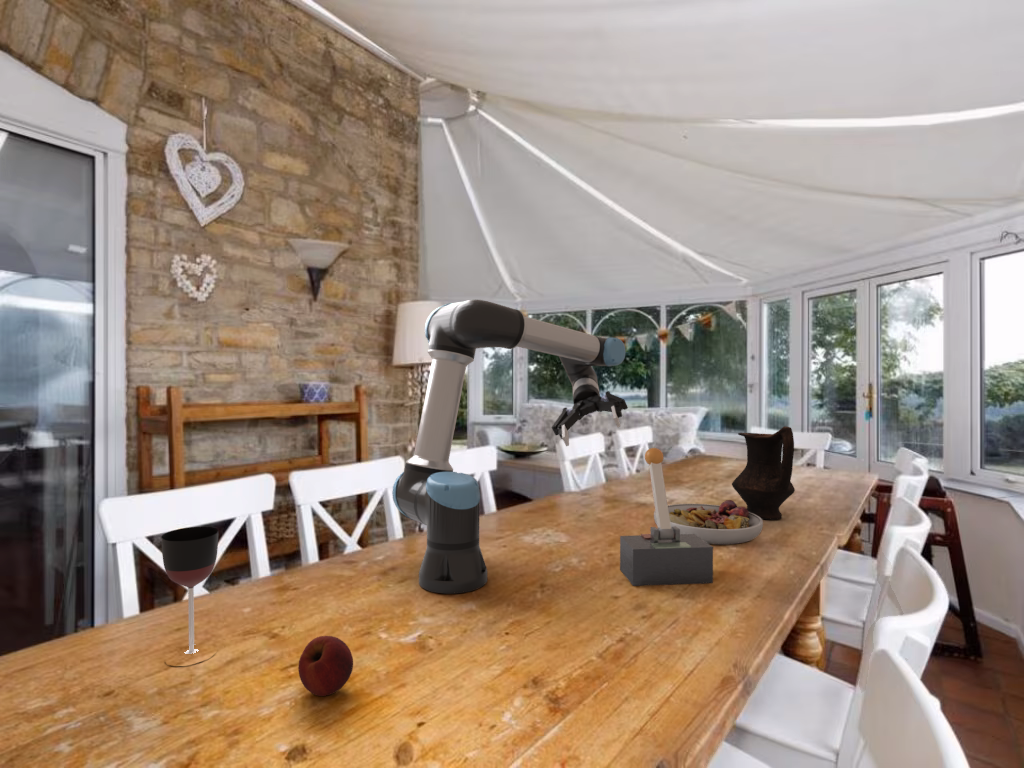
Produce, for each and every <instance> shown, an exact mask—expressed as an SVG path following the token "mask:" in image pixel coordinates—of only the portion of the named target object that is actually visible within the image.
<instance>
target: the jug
mask: <svg viewBox="0 0 1024 768" xmlns="http://www.w3.org/2000/svg"><path fill="white" fill-rule="evenodd" d="M738 435H739V436H741V437H743V438H744V440H745V445H746V459H747V460H746V465H745V467H744V469H743V470H742V471H741V472H740V473H739V474H738V476H737V477H736V478H734V480H733V481H732V483H731V486H732V488H733V489H734V490H735V492H736V493H737V494H738V495H739V497H740V498H741V499H742V501H744V503H745V504H746V509H747V510H748V512H751V513H753V514H755V515H757V516H759V517H760V518H761V519H762V520H773V521H774V520H781V519H782V518H783V517H782V515H783V514H782V512H780V507H781V505H783V503H784V502H786V501H787V500H788V498H789V497H791V496H792V495H793V494H794V493H795V490H796V489H795V487H794V485H793V482H792V481H791V480H792V475H793V464H794V454H795V439H794V432H793V429H792V427H791V426H783V427H781V428H780V429H779V430H778V431H776V432H775V433H757V432H756V433H755V432H738Z"/></svg>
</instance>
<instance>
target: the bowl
mask: <svg viewBox="0 0 1024 768" xmlns="http://www.w3.org/2000/svg"><path fill="white" fill-rule="evenodd" d="M668 511H669V517H670V524H671V528H672V527H674V526H676V527H677V528H679V529H680V534H695V535H696V536H698V537H699V538H701V539H702V540H704V541H705V542H706V543H708V544H709V545H736V544H743V543H747V542H750V541H752V540H754V539H755V538H757V537H758V536H759V535H760V534H761V532H762V530H763V526H764V521H763V520H764V519H761V518H760V517H759V516H757V515H755V514H753V513H751V512H748V510H747V507H745V506H737V503H736V502H735V501H734V500H731V499H729V500H724V502H722V503H721V504H720V505H719V504H718V505H717V504H708V503H677V504H669V505H668ZM653 518H654V519H653V520H654V522H655V524H656V525H657V519H656V512H655V510H654V511H653Z"/></svg>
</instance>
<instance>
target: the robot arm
mask: <svg viewBox="0 0 1024 768" xmlns="http://www.w3.org/2000/svg"><path fill="white" fill-rule="evenodd" d="M424 333H425V338H426V340H427V342H428V348H427V353H428V355H429V357H430V358H431V365H430V372H429V376H428V382H427V385H426V391H425V395H424V396H425V397H424V402H423V406H422V412H421V416H420V421H419V427H418V432H417V437H416V441H415V448H414V452H413V456H412V457H410V458H408V459H406V460H405V465H404V471H402V472H401V474H400V475H398V476H397V478H396V479H395V481H394V483H393V486H392V499H393V503H394V505H395V507H396V508H397V510H398V511H399V512H400V513H401V514H403V515H404V516H405V517H406V518H408V519H410V520H411V521H412V520H413V521H415V522H419V523H420V524H423V525H424V526H426V549H425V552H424V556H423V559H422V562H421V565H420V568H419V572H418V585H419V586H420V588H422V589H424V590H425V591H428V592H431V593H438V594H445V595H446V594H451V595H452V594H463V593H469V592H472V591H476V590H478V589H480V588H482V587H484V586H485V585H487V583H488V568H487V566H486V565H487V564H486V562H485V558H484V556H483V553H482V550H481V547H480V500H481V493H480V485H479V482H478V480H477V479H476V478H475V477H474V476H472V475H470V474H467V473H464V472H457V471H454V467H452V465H451V464H450V461H449V460H450V455H451V451H452V445H453V438H454V434H455V428H456V423H457V417H458V412H459V407H460V402H461V397H462V396H461V395H462V391H463V386H464V381H465V377H466V376H465V375H466V371H467V367H468V365H470V364H472V363H473V362H474V360H475V355H476V350H477V349H483V348H488V349H489V348H502V349H507V350H512V349H515V348H522V349H527V350H530V351H531V350H532V351H535V352H539V353H543V354H548V355H553V356H557V357H558V358H559V360H560V362H561V363H562V366H563V368H564V370H565V373H566V375H567V377H568V379H569V382H570V383H571V386H572V387H571V388H572V400H573V405H572V407H571V408H569V409H568V408H567V407H563V408H562V411H561V413H560V415H559V416H558V418H557V419H556V420H555V422H554V423H553V424H552V426H551V429H552V432H553V433H554V435H555V436H559V437H560V439H562V441H563V442H564V444H565V447H569V446H570V436H569V435H570V434H569V429H571V428H572V427H573V426H574V425H575V424H576V423H577V422H578V421H581V420H582V419H583V418H584V417H585V416H587V415H589V414H593V413H595V412H599V413H602V412H609V413H611V414H612V416H613V420H614V423H615V425H616V426H617V428H620V427H621V422H620V419H619V418H622V417H623V414H622V411H623V410H624V411H626V410H627V409H628V408H629V407H628V405H627V402H626V400H625V399H624V398H621V397H620V396H617V395H615V394H612V393H611V392H610V391H609V390H607V391H605V393H604V395H603V396H601V394H600V387H599V383H598V376H597V372H596V371H595V369H594V367H612V366H613V367H614V366H618V365H621V364H622V363H623V362H624V360H625V357H626V345H625V343H624V342H623V340H621V338H618V337H612V336H611V337H602V336H598V335H593V334H590V333H587V332H584V331H579V330H575V329H572V328H567V327H564V326H561V325H557V324H554V323H549V322H546V321H543V320H539V319H536V318H532V317H528V316H525V314H523V312H522V311H521V310H518V309H517V308H516V309H515V308H511V307H508V306H505V305H501V304H498V303H494V302H491V301H487V300H483V299H468V300H464V301H459V302H458V301H457V302H451V303H446V304H443V305H441V306H439V307H437V308H435V309H434V310H433V311H431V313H430V314H429V315H428V316H427V318H426V321H425V325H424ZM592 366H593V367H592Z"/></svg>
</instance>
